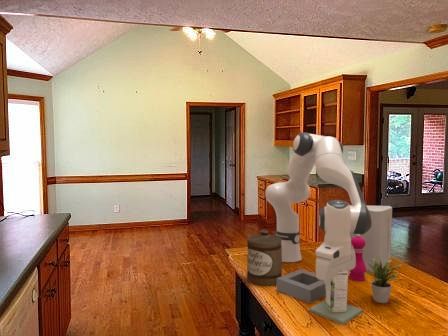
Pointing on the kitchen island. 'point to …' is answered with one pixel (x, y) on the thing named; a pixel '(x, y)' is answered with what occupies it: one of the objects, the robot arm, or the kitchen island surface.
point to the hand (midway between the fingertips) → (336, 286)
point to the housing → (302, 286)
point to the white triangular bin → (377, 236)
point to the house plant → (382, 280)
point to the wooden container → (264, 259)
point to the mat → (336, 313)
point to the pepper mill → (358, 259)
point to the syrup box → (338, 293)
